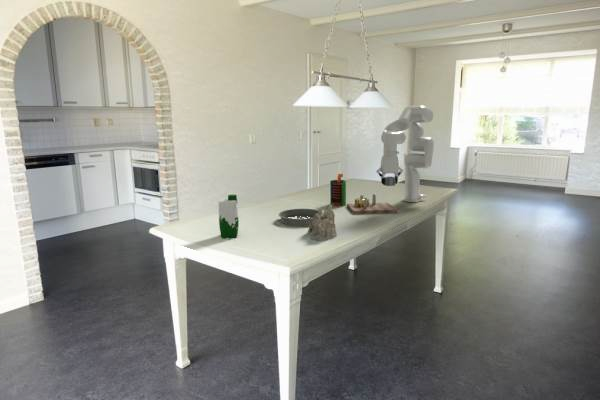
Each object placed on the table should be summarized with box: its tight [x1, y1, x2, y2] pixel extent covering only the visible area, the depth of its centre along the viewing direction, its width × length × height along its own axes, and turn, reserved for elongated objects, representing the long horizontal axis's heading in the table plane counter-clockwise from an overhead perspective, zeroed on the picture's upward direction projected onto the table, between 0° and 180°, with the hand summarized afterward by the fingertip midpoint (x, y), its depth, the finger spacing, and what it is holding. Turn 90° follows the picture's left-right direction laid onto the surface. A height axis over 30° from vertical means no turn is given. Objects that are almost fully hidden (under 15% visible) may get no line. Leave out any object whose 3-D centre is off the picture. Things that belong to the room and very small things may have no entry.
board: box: [346, 194, 398, 215], centre depth 249 cm, size 26×20×8 cm
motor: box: [329, 173, 347, 207], centre depth 264 cm, size 10×9×20 cm
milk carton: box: [218, 194, 239, 239], centre depth 196 cm, size 9×9×20 cm
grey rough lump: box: [307, 204, 338, 242], centre depth 196 cm, size 16×16×15 cm
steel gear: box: [383, 176, 396, 187], centre depth 243 cm, size 7×7×4 cm
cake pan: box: [278, 208, 318, 227], centre depth 225 cm, size 25×25×4 cm
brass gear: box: [354, 197, 370, 207], centre depth 253 cm, size 9×9×4 cm
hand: (389, 183), depth 243 cm, fingers closed on steel gear, 6 cm apart
